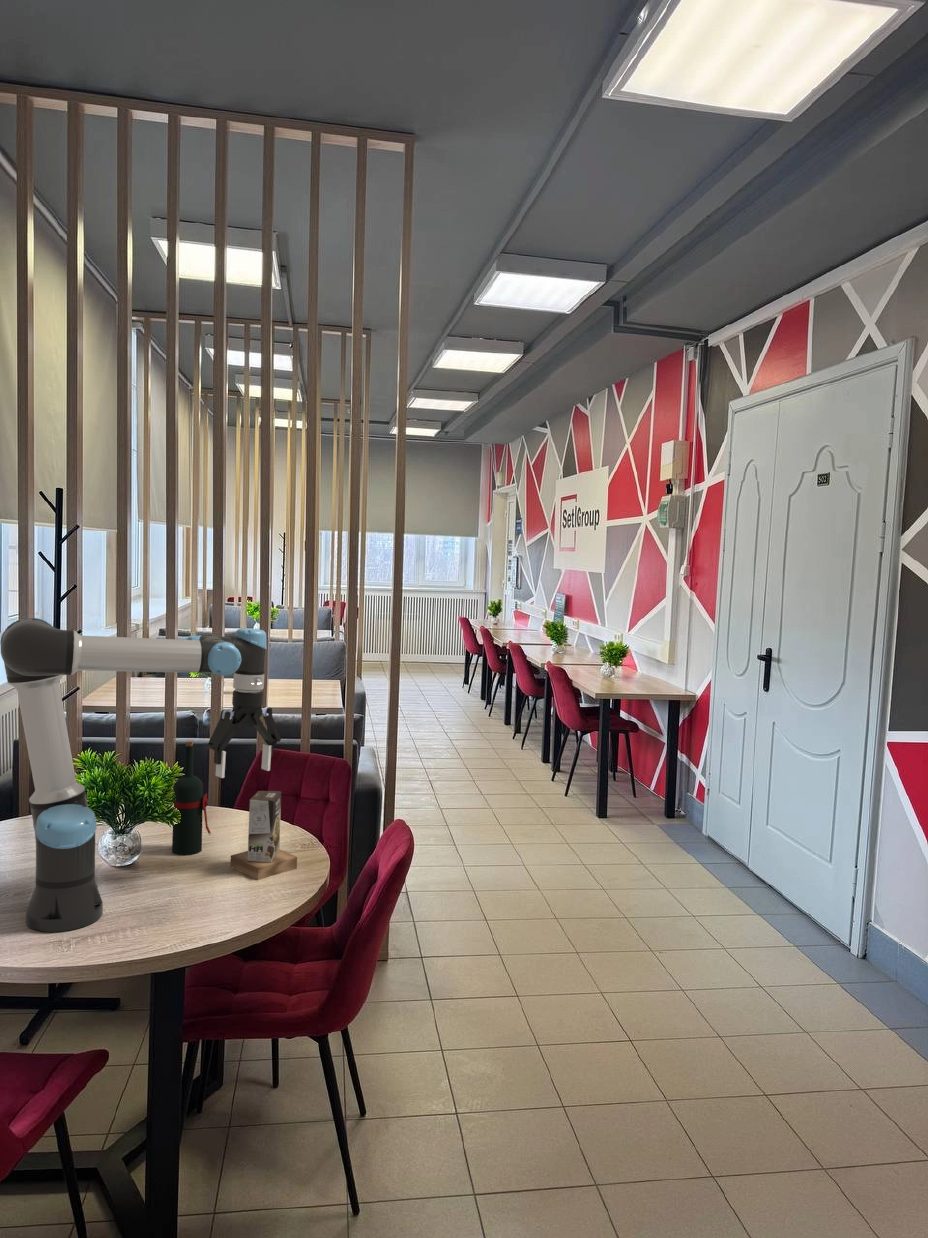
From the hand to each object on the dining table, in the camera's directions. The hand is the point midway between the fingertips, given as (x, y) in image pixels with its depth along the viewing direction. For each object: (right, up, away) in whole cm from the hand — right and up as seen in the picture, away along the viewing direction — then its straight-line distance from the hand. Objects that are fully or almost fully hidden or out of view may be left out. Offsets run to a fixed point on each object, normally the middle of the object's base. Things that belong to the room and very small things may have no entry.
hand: (243, 773), depth 212 cm
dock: (+4, -25, +5) cm, 26 cm away
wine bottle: (-18, -24, +15) cm, 33 cm away
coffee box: (+4, -23, +5) cm, 23 cm away
